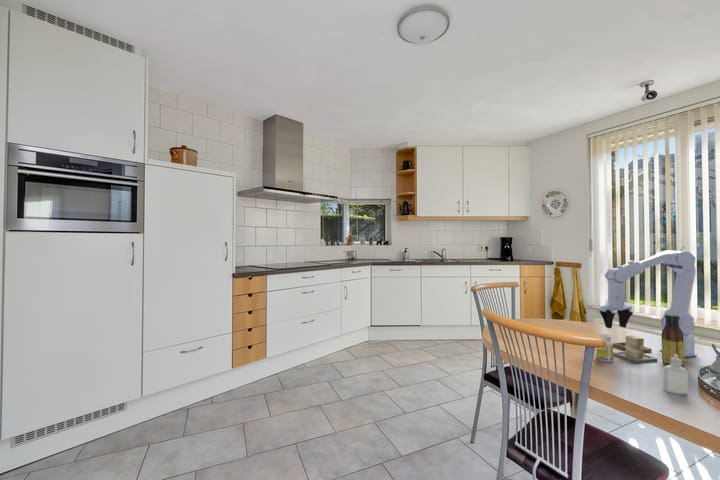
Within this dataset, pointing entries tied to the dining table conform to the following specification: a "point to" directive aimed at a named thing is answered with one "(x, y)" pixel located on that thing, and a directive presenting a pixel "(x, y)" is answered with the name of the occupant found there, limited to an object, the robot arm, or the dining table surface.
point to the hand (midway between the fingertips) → (615, 327)
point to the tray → (641, 360)
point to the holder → (622, 346)
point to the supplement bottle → (605, 350)
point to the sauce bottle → (672, 340)
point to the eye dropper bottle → (675, 377)
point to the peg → (634, 347)
